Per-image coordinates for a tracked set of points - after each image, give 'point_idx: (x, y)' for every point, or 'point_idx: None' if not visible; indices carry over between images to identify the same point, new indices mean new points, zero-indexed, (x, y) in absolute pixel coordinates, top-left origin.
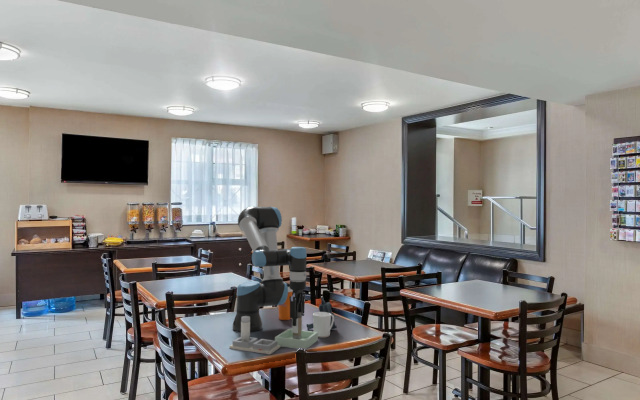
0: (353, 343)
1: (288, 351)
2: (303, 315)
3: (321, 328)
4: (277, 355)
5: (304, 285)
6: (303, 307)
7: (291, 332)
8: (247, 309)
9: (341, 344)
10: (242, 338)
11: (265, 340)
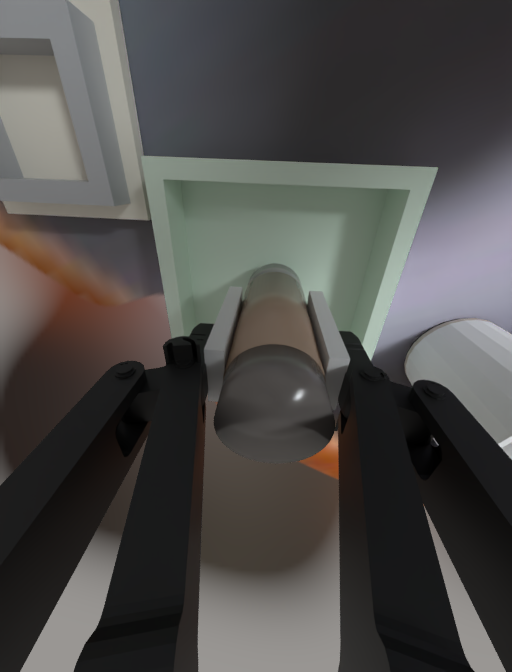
0: (338, 465)
1: (127, 288)
2: (337, 426)
3: None
4: (42, 259)
5: None
6: (426, 506)
7: (395, 205)
8: None
9: None
10: None
11: (63, 83)
